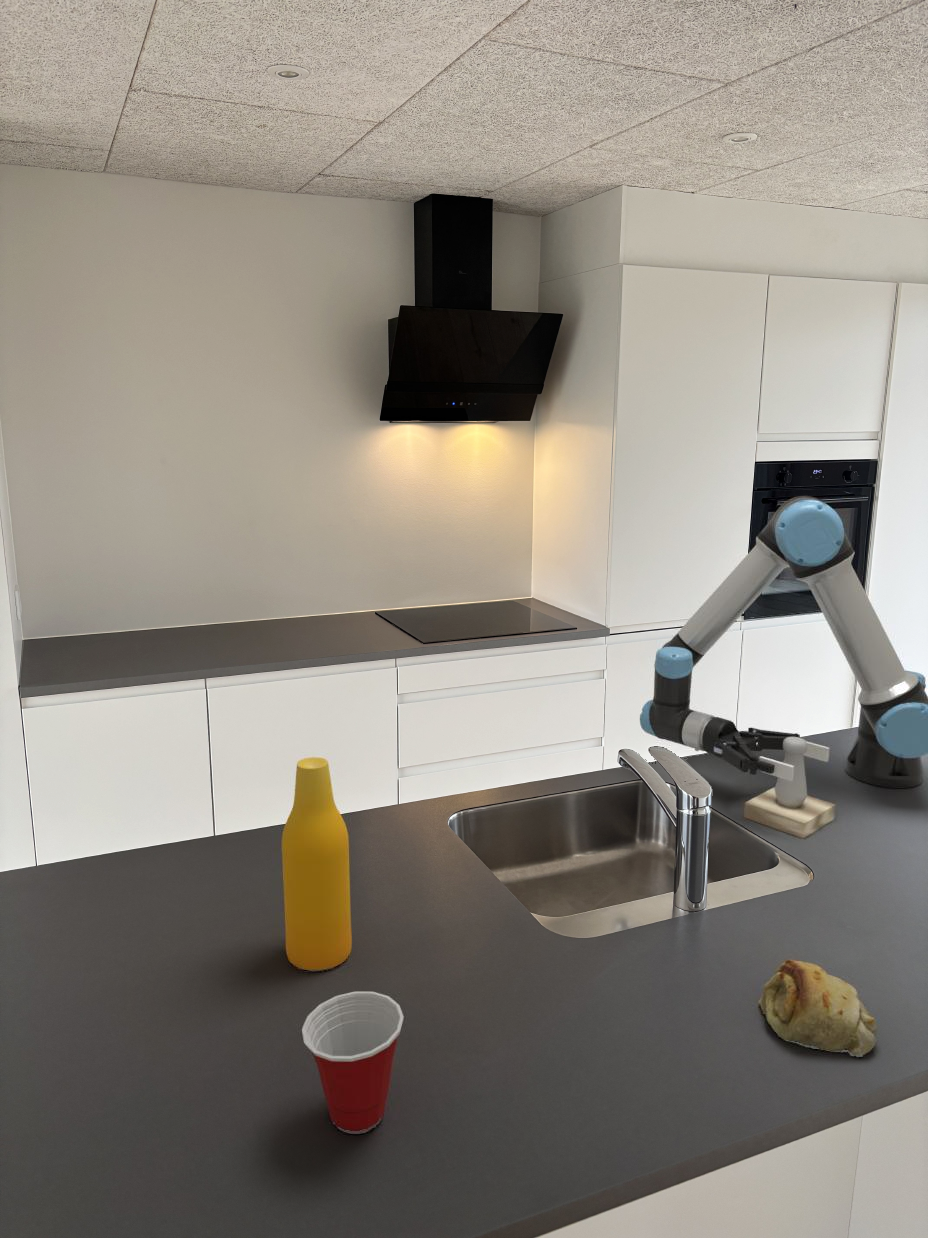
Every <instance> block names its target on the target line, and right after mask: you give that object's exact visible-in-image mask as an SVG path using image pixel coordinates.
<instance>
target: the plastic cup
mask: <svg viewBox="0 0 928 1238" xmlns="http://www.w3.org/2000/svg"><path fill="white" fill-rule="evenodd" d="M403 1022H404V1013H403V1011H402V1009H401V1006H400V1004H399V1003H397V1002H396V1001H395V1000H394V999H393V998H391V997H390V996H389V995H385V994H384V993H383V994H382V993H379V992H375V991H352V992H348V993H344V994H338V995H335V996H333V997H332V998H330V999H328V1000H326V1001H323V1002H322V1003H320V1004H319V1005H317V1006H316V1008H315V1009H313V1010H312V1011H311V1012H310V1013H309V1014H308V1015H307V1017H306V1019H305V1021H304V1023H303V1026H302V1029H301V1033H302V1038H303V1043H304V1045H305V1046H306V1047H307V1049H308V1050H310V1052H311V1054H312V1056H313V1058H314V1061H315V1064H316V1066H317V1070H318V1074H319V1075H318V1076H319V1078H320V1083H321V1086H322V1090H323V1091H322V1092H323V1095H324V1097H325V1098H324V1099H325V1101H326V1103H327V1107H328V1111H329V1112H328V1113H329V1116H330V1117H329V1118H330V1120H331V1121H333V1122H334V1123H335V1125H336V1126H337V1127H340V1128H342V1129H344V1130H350V1131H360V1130H363V1129H368V1128H369V1127H371V1126H373V1125H374V1124H376V1123H377V1122H378V1121H379V1119H380V1118H381V1117H382V1116H383V1117H384V1115H385V1112H386V1105H387V1099H388V1095H389V1091H390V1087H391V1086H390V1085H391V1080H392V1075H393V1074H392V1073H393V1072H392V1071H393V1067H394V1062H395V1061H394V1060H395V1052H396V1048H397V1044H398V1037H399V1035H400V1034H401V1029H402V1026H403ZM383 1114H384V1115H383ZM383 1117H382V1118H383ZM333 1122H332V1123H333Z"/></svg>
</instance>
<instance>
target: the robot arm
mask: <svg viewBox="0 0 928 1238" xmlns="http://www.w3.org/2000/svg"><path fill="white" fill-rule="evenodd" d="M854 555H855V550H854V549H853V546H852V544H851V542H850V541H849V538H848V536H847V534H846V533H845V528H844V524H843V521H842V519H841V517H840V516H839V514H838V513H837V511H835V509H834V508H832V507H831V506H830V505H828V504H827V503H825V502H824V501H822V500H821V499H819V498H817V497H814V496H810V495H809V496H808V495H800V496H794V497H792V498H790V499H788V500H786V501H784V502H783V503H782V504H781V505H780V507H778V509H777V510H776V511H775V512H774V514H773V516H772V517H771V519H770V520H769V521H768V523H767V524H766V525H765V526H764V528H763V529H762V530H761V531H760V532H759V533H758V535H757V536H756V537H755V545H754V547H753V548H752V549H750V551H749V552H748V554H747V555H745V557H743V559H742V560H741V561H740V562H739V563H738V564H737V566H735V568H733V570H732V571H731V572H730V574H729V575H728V576H727V577H726V578H725V579H724V580H723V582H721V583H720V585H719V586H718V587H717V588H716V589H715V590H714V591H713V592H712V593H711V595H710V596H709V597H707V599H706V601H704V603H702V605H701V606H699V608H698V609H697V611H695V612H694V613H693V615H692V616H691V617H690V618H689V619H688V620H687V621H686V623H685V624H684V625H683V626H682V627H681V628H680V629H679V630H678V632H677V633H676V634H675V635H674V636H673V637H672V639H670V640H669V641H667V642H666V643H664V644H663V646H662V647H661V648H658V650H656V653H655V661H654V675H653V677H654V679H653V681H654V684H653V699H650V700H648V701H647V702H645V703H644V704H643V707H642V709H641V711H642V712H641V713H640V714H639V724H640V727H641V729H642V730H643V731H644V732H645V733H646V734H648V735H651V736H654V737H656V738H658V739H661V740H665V741H669V742H670V743H671V742H672V743H675V744H678V745H681V746H682V745H683V746H685V747H688V748H692V749H694V751H696V752H699V751H701V752H706V753H707V754H710V755H713V756H715V757H717V758H720V759H722V760H724V761H725V762H727V763H728V764H730V765H732V766H733V767H734V768H736V769H738V770H739V771H741V772H742V773H745V774H746V773H749V774H750V775H753V776H756V775H757V773H758V772H761V773H764V774H767V775H770V776H774V777H777V778H778V777H779V778H782V779H786V780H789V781H792V780H793V774H794V766H792V765H789V764H786V763H783V761H778V760H775V759H772V758H768V757H765V756H762V755H761V756H758V757H757V755H756V754H755V753H754V752H761V751H763V750H773V751H774V750H776V751H785V750H784V749H783V741H784V739H786V738H787V737H799V738H801V736H800V734H799V733H791V732H783V731H775V730H773V731H772V730H767V729H765V730H764V729H759V728H755V727H748V728H747V729H748V730H738V729H737V726H736V724H735V723H734V721H732V720H729V719H726V718H722V717H718V716H715V715H712V714H709V713H705V712H702V711H697V710H694V709H691V708H690V704H691V693H692V692H691V688H692V679H693V676H692V675H693V669H694V667H695V666H696V665H697V664H698V663H699V662H700V661H701V660H702V658H703V657H704V656H705V655H706V653H708V652H709V651H710V649H711V648H713V647H714V645H715V644H716V643H717V641H719V640H720V639H721V637H722V636H723V635H724V634H725V633H726V632H727V631H728V630H729V629H730V628H731V627H732V626H733V625H734V623H735V622H736V621H737V620H738V619H739V618H740V617H741V616H742V615H743V614H744V613H745V612H746V610H748V608H749V607H751V605H752V604H753V603H754V602H755V600H757V598H758V597H760V595H762V593H763V592H764V591H765V590H766V589H767V588H768V587H769V586H770V585H771V583H772V582H774V580H775V579H776V578H777V577H778V576H779V574H781V572H783V571H784V570H785V569H786V568H790V570H791V572H792V574H793V576H794V578H795V580H797V581H800V582H803V583H805V584H807V585H808V587H809V589H810V591H811V593H812V595H813V597H814V599H815V601H816V603H817V605H818V607H819V608H820V610H821V612H822V615H823V616H824V618H825V621H826V622H827V625H828V626H829V628H830V630H831V632H832V634H833V636H834V639H835V640H836V642H837V644H838V646H839V648H840V650H841V651H842V654H843V655H844V657H845V660H846V661H847V664H848V665H849V668H850V669H851V671H852V673H853V675H854V677H855V679H856V681H857V683H858V685H859V687H860V689H861V691H860V693H859V694H858V697H857V701H858V703H859V704H860V709H859V719H858V728H857V730H858V731H857V737H856V738H855V739H854V740H855V741H854V742H853V744H852V746H851V748H850V750H849V752H848V754H847V756H846V760H845V768H844V769H845V772H846V773H847V774H848V775H849V776H851V777H852V778H854V779H855V780H858V781H861V782H864V783H867V784H870V785H874V786H878V787H882V788H892V789H907V788H914V787H918V786H920V785H921V784H922V783H923V780H924V773H925V772H924V771H925V769H924V766H923V762H922V757H923V756H926V755H927V754H928V695H927V693H926V691H925V690H926V688H927V684H926V677H925V675H924V674H922V673H919V672H915V671H911V670H906V669H905V668H904V666H903V664H902V661H901V660H900V657H898V654H897V652H896V650H895V648H894V646H893V644H892V641H891V640H890V639H889V637H888V634H887V632H886V631H885V628H884V627H883V625H882V623H881V621H880V618H879V617H878V613H876V611H875V609H874V606H873V605H872V602H871V601H870V599H869V597H868V595H867V593H866V591H865V589H864V587H863V585H862V583H861V581H860V579H859V577H858V575H857V573H856V571H855V569H854V568H853V565H852V561H853V559H854ZM805 741H806V742H807V751H806V752H805V753H803V756H804V757H807V758H811V759H814V760H818V761H821V762H825V763H827V762H829V757H830V747H827V746H825V745H822V744H817V743H814V742H810V741H807V740H805ZM757 771H758V772H757Z"/></svg>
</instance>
